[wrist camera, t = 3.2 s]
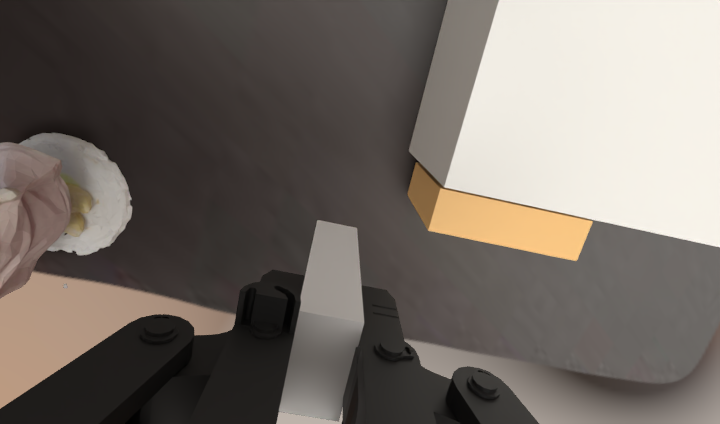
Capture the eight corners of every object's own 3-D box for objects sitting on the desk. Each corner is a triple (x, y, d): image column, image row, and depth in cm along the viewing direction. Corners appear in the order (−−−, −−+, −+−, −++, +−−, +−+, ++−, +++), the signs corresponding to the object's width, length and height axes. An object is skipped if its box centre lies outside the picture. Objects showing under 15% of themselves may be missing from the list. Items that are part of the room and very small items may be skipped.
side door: (406, 195, 27) (427, 231, 21) (416, 161, 27) (440, 187, 20) (520, 219, 28) (576, 261, 21) (532, 187, 27) (593, 220, 21)
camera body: (407, 154, 27) (448, 198, 17) (461, -53, 24) (555, -161, 13) (687, 217, 29) (878, 291, 19) (773, 35, 26) (1067, 1, 15)
